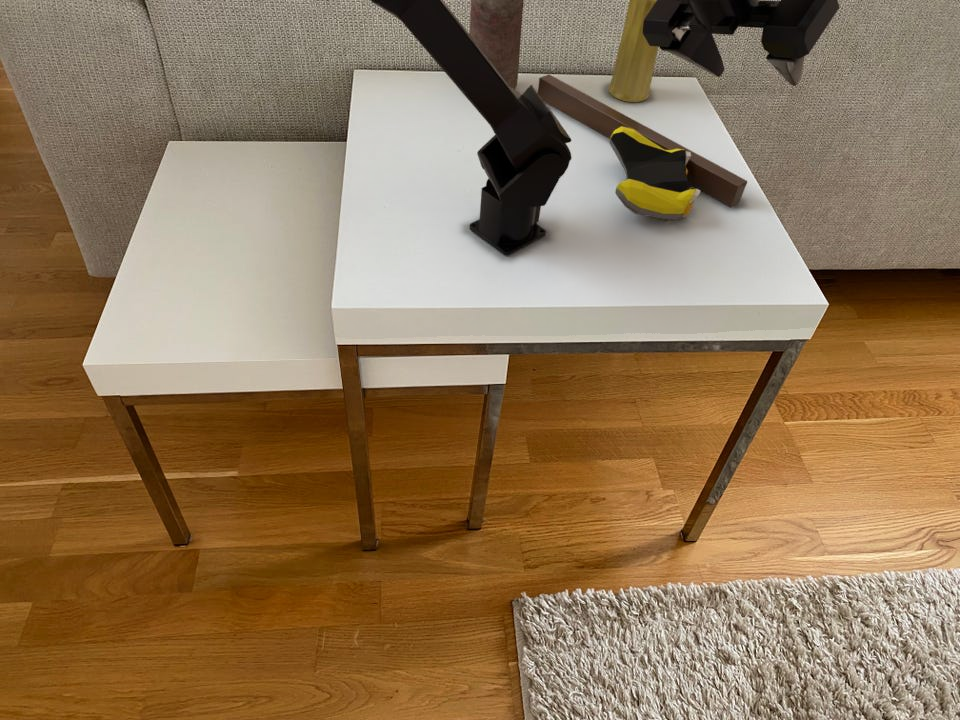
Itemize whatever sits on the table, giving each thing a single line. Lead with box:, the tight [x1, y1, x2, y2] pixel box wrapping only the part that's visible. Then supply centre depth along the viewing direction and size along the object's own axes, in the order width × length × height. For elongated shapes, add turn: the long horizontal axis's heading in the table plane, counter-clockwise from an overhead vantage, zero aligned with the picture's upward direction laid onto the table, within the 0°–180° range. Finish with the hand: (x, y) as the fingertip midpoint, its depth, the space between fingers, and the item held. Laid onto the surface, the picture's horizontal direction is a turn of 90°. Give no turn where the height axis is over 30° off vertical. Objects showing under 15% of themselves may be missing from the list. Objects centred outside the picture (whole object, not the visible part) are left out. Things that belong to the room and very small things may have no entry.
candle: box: [468, 0, 525, 91], centre depth 97 cm, size 8×7×20 cm
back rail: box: [537, 74, 748, 208], centre depth 94 cm, size 2×34×3 cm, turn 42°
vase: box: [608, 0, 659, 103], centre depth 100 cm, size 6×6×14 cm
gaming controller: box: [608, 126, 702, 222], centre depth 85 cm, size 15×6×10 cm
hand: (757, 77), depth 75 cm, fingers open, 9 cm apart
